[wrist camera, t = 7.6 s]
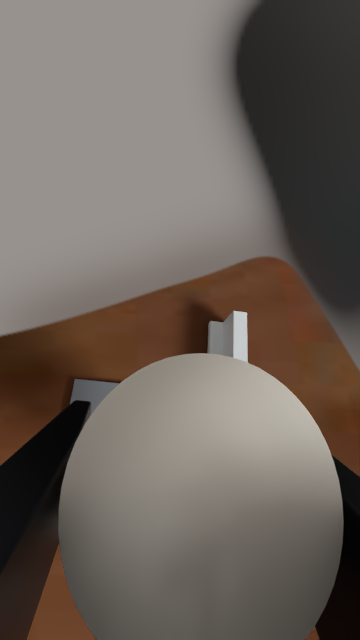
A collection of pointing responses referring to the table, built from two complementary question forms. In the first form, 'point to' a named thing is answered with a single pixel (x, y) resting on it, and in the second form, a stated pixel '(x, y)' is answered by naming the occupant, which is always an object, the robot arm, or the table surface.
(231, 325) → the light grey long bar
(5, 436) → the table surface
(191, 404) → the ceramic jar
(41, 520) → the robot arm
